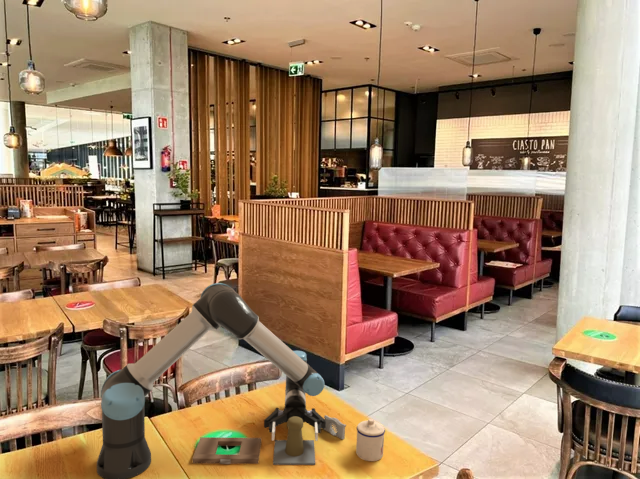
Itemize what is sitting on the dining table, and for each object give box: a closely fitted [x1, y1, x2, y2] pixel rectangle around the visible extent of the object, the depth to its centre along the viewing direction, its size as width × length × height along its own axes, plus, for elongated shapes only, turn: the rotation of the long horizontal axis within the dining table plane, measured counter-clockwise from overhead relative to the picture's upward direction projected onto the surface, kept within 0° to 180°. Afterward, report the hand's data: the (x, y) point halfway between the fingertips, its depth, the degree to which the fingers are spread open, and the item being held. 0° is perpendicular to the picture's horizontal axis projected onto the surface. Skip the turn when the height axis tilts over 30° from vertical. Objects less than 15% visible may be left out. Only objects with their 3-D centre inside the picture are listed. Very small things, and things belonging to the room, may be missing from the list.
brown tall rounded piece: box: [285, 416, 304, 456], centre depth 153 cm, size 6×6×11 cm
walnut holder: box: [192, 436, 262, 465], centre depth 152 cm, size 20×13×2 cm, turn 93°
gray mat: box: [272, 439, 316, 466], centre depth 153 cm, size 13×13×1 cm
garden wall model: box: [321, 414, 347, 440], centre depth 166 cm, size 12×2×6 cm, turn 46°
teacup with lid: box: [355, 418, 386, 462], centre depth 155 cm, size 12×9×12 cm
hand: (294, 436), depth 150 cm, fingers open, 13 cm apart
